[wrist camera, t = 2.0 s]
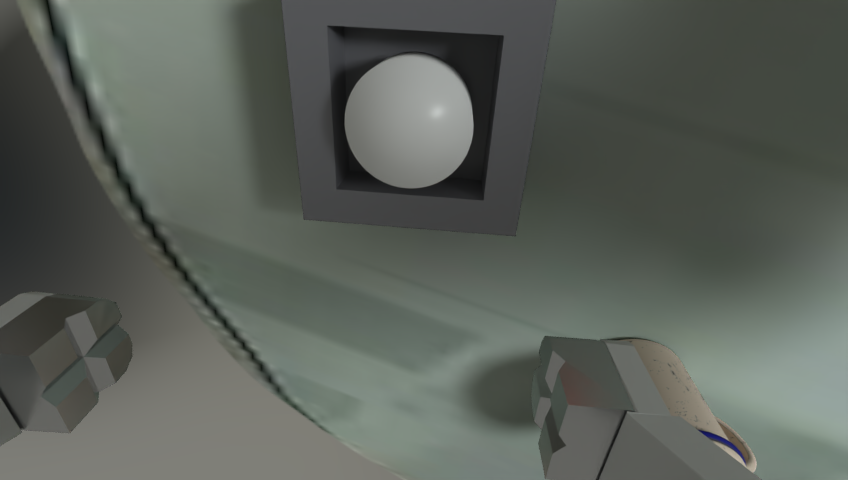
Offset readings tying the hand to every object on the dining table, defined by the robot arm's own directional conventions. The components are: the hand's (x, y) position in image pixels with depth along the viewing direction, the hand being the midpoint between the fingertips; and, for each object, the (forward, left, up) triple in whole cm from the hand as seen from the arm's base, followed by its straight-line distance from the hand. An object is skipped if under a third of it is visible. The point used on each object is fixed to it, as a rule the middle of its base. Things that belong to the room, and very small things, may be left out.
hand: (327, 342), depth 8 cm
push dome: (0, -1, -17) cm, 17 cm away
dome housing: (0, -1, -20) cm, 20 cm away
